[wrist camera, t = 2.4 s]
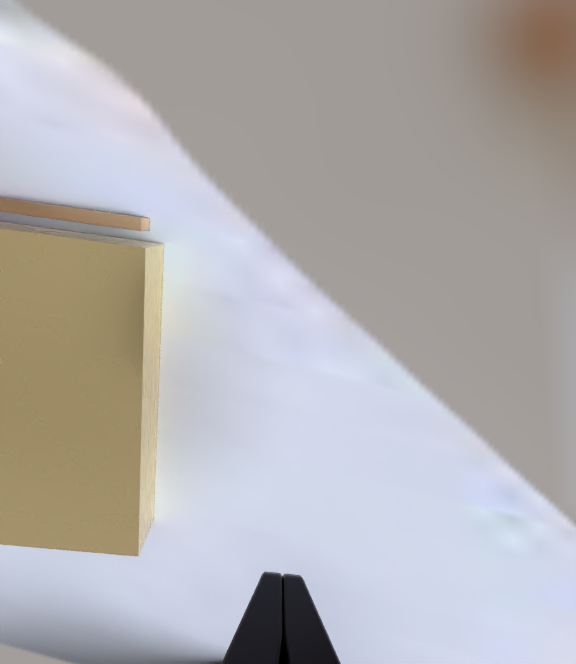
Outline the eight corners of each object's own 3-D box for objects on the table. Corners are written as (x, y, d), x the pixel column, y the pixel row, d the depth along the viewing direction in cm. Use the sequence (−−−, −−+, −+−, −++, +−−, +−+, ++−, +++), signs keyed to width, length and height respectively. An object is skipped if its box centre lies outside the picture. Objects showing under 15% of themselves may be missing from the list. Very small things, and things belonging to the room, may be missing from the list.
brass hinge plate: (154, 517, 17) (126, 585, 14) (-66, 496, 16) (-148, 562, 13) (165, 243, 13) (130, 251, 10) (-116, 205, 13) (-244, 201, 10)
